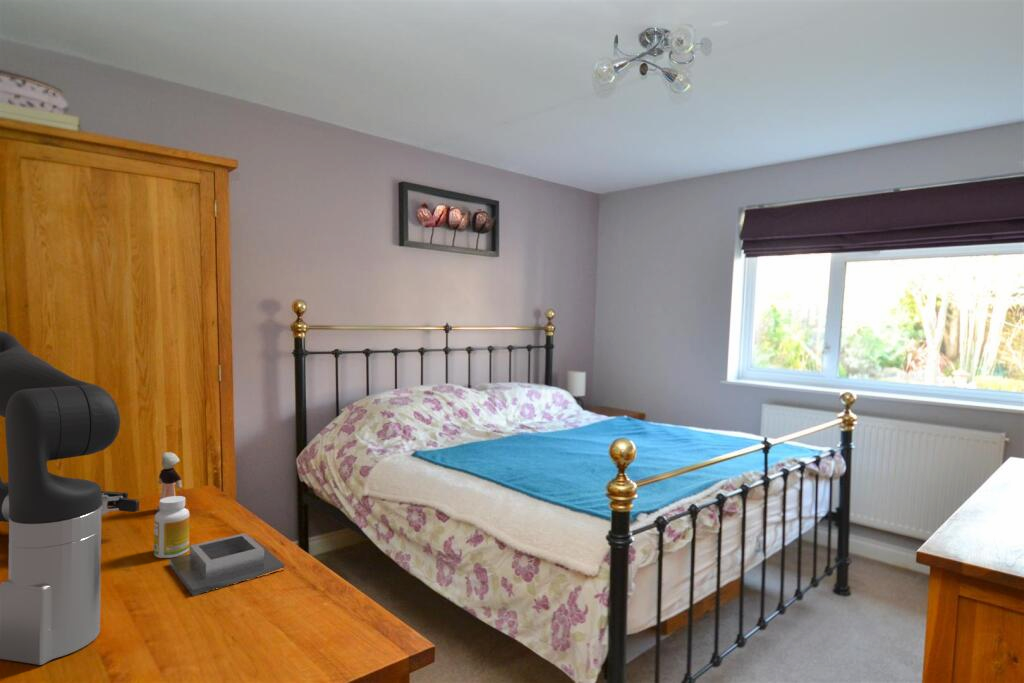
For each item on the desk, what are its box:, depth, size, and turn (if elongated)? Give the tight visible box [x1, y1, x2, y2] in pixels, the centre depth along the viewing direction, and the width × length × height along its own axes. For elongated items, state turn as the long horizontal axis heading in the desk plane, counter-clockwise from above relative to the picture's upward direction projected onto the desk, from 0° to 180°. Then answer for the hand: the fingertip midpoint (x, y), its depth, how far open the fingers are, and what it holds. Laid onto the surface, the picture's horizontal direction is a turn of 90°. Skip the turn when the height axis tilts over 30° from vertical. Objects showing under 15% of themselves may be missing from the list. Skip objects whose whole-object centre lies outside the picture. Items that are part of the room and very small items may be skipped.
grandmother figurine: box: [155, 451, 183, 512], centre depth 120 cm, size 8×4×13 cm, turn 73°
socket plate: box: [168, 532, 285, 597], centre depth 95 cm, size 14×14×4 cm
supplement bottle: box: [153, 495, 191, 559], centre depth 100 cm, size 5×5×10 cm
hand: (118, 513), depth 101 cm, fingers open, 8 cm apart
